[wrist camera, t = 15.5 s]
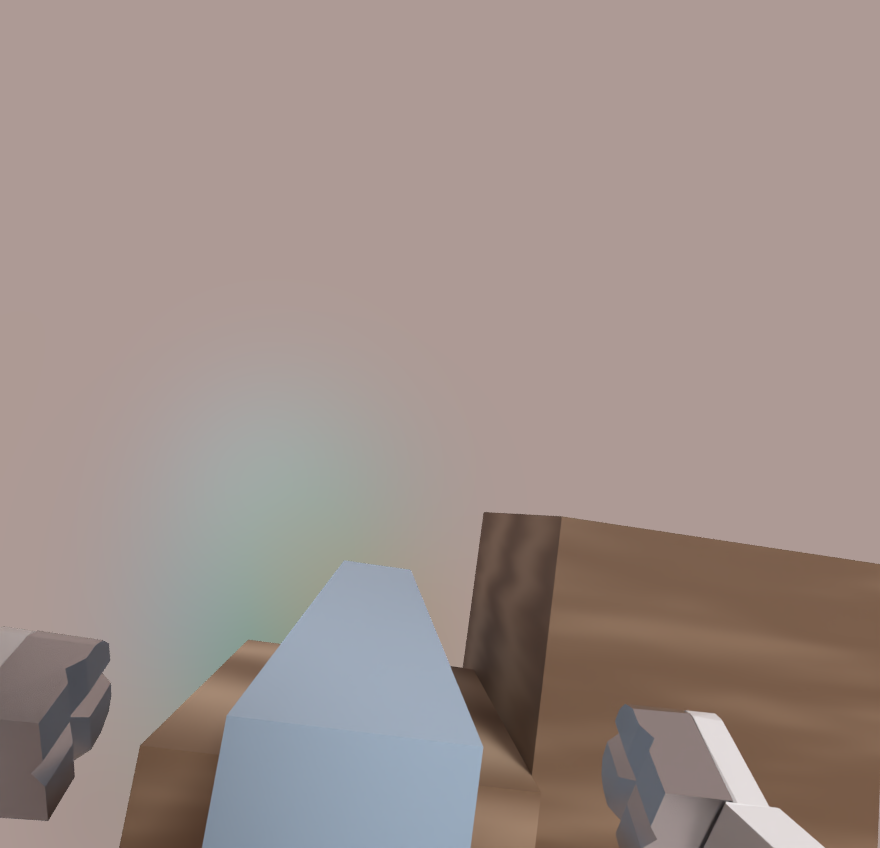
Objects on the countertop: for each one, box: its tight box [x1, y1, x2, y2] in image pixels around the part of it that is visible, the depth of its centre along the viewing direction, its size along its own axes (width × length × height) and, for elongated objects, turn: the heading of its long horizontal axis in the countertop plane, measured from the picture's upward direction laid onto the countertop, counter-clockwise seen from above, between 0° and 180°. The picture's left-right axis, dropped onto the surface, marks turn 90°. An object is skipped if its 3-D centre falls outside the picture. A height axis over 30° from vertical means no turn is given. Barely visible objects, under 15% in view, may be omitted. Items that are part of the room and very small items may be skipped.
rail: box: [202, 561, 483, 848], centre depth 20 cm, size 24×4×4 cm, turn 5°
